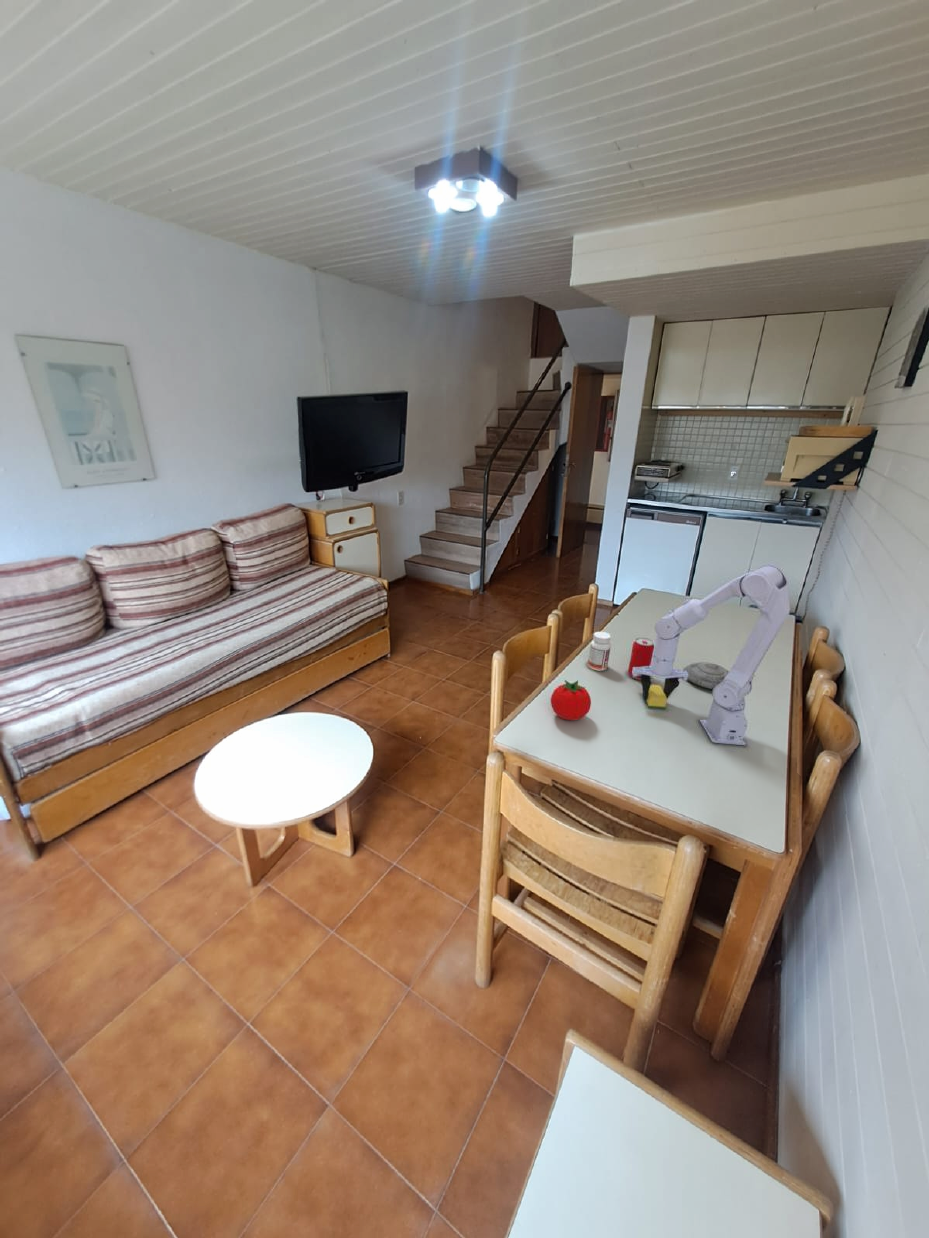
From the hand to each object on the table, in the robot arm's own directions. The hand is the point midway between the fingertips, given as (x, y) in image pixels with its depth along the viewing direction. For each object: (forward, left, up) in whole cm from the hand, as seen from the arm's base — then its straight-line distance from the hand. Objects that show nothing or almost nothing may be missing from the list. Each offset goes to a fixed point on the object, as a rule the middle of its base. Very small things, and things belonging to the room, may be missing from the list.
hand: (654, 699), depth 139 cm
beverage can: (+15, +1, -1) cm, 15 cm away
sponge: (0, 0, -1) cm, 1 cm away
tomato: (-11, +25, -1) cm, 27 cm away
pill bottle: (+19, +13, -1) cm, 23 cm away
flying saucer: (+15, -20, -1) cm, 25 cm away
